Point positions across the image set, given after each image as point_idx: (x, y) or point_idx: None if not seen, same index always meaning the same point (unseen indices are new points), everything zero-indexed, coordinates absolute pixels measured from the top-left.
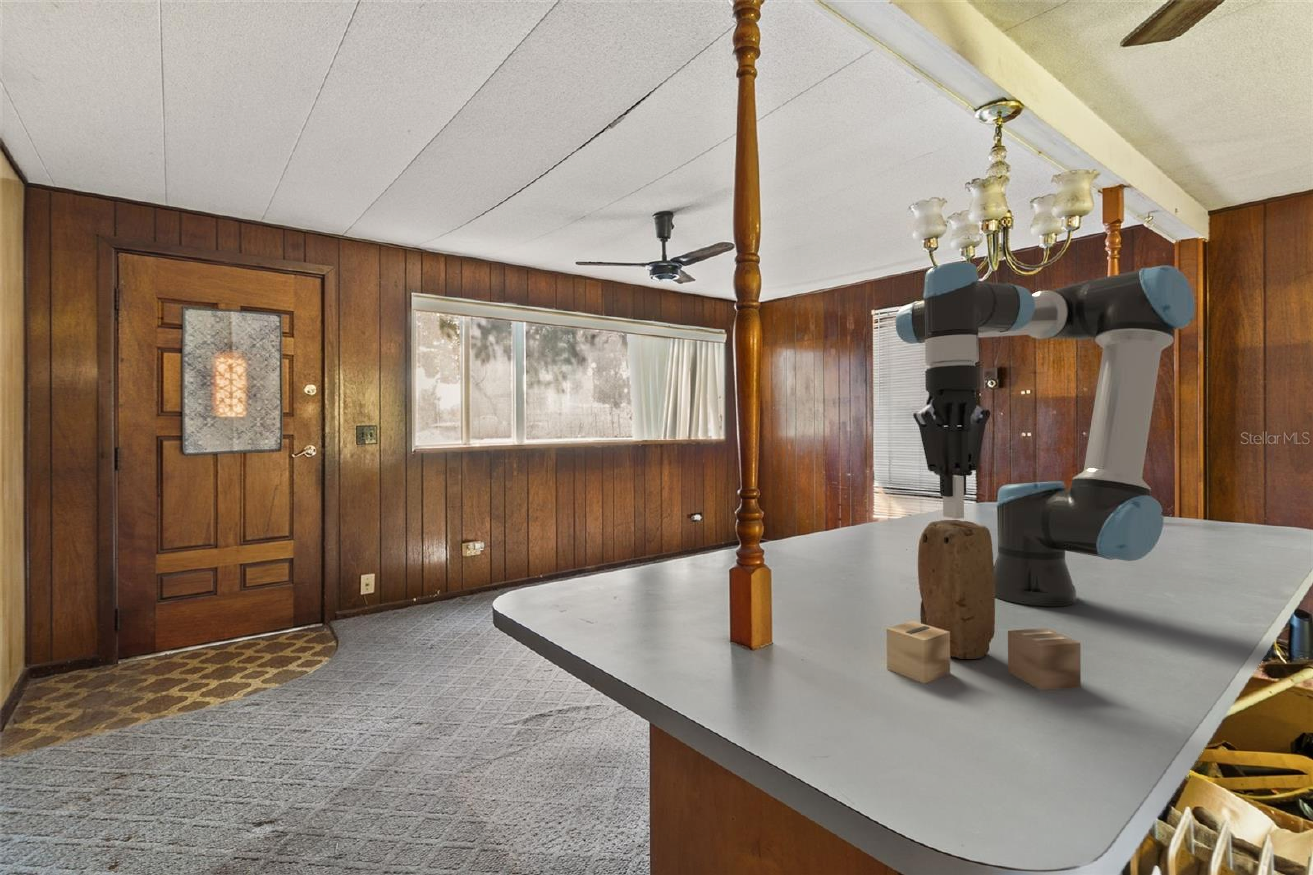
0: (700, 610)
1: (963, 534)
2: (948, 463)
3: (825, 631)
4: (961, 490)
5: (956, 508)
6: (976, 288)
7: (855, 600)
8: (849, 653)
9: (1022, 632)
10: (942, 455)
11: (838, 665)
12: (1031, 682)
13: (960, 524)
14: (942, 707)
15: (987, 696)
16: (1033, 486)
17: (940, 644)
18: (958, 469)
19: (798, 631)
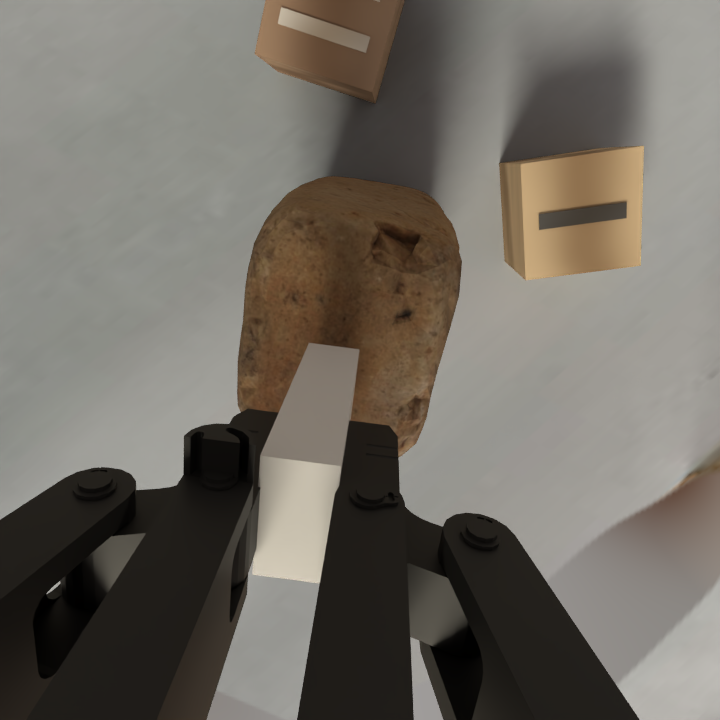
0: (664, 689)
1: (427, 240)
2: (403, 561)
3: (529, 477)
4: (301, 406)
5: (353, 368)
6: None
7: (302, 595)
8: (594, 354)
9: (349, 61)
10: (504, 637)
11: (674, 313)
12: (399, 17)
13: None
14: (685, 29)
15: (545, 23)
16: None
17: (558, 157)
18: (240, 536)
19: (582, 503)
